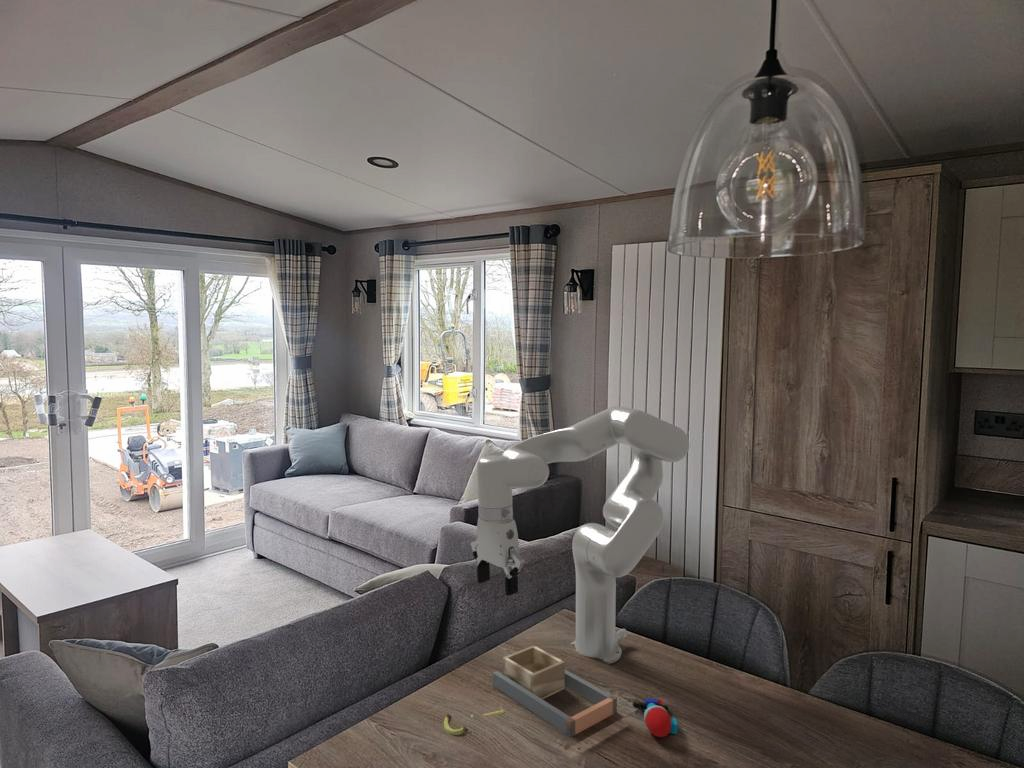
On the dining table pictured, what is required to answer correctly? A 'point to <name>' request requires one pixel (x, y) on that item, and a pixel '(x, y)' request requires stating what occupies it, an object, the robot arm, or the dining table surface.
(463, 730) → the key
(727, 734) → the dining table surface
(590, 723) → the rail bay
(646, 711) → the toy figure
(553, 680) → the crate
